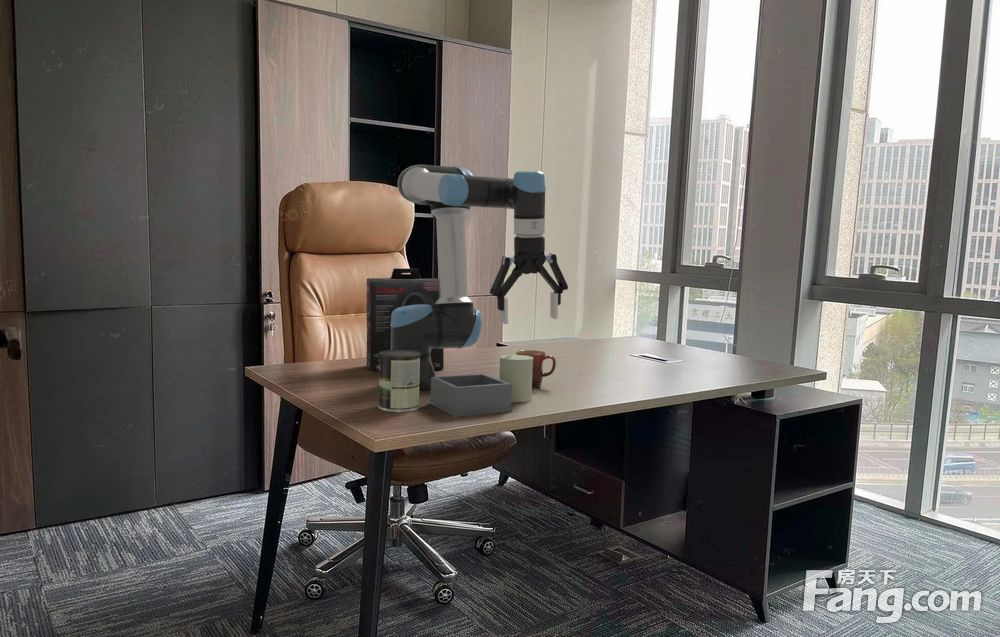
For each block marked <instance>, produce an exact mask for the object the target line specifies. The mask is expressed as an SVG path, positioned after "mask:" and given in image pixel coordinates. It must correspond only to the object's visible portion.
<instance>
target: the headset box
mask: <svg viewBox="0 0 1000 637" xmlns="http://www.w3.org/2000/svg"><path fill="white" fill-rule="evenodd" d="M438 299H439V278H421V274H420V270H419V268H399V267H398V268H395V267H394V268H393V269H392V272H391V276H390V277H385V278H383V277H378V278H377V277H373V278H369V277H368V278H366V366H368V367H367V368H368V370H369V371H370V372H372V371H373V372H379V352H381V351H386V350H391V327H390V324H391V315H392V312H393V311H394V310H395V309H396V308H399V307H403V306H409V305H421V304H427V305H431V307H432V309H435V308H434V303H435V302H436V301H437V300H438ZM444 350H445V348H442V349H431V362H432V366H433V369H434V370H444V362H445V361H444V357H445V356H444Z"/></svg>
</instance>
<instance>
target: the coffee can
mask: <svg viewBox="0 0 1000 637" xmlns="http://www.w3.org/2000/svg"><path fill="white" fill-rule="evenodd" d="M419 372H420V352H417V351H412V350H386V351H381V352H379V371H378V407H377V408H378V410H380V411H383V412H389V413H409V412H413V411H414V412H415V411H417V410H419V409H420V390H419Z"/></svg>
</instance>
